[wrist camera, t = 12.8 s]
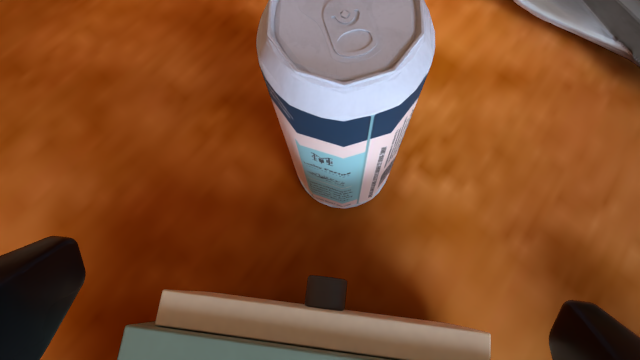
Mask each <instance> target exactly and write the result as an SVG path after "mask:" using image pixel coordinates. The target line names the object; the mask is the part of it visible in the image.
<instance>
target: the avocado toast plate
mask: <svg viewBox="0 0 640 360" xmlns="http://www.w3.org/2000/svg"><path fill="white" fill-rule="evenodd" d="M513 1H514V2H515V3H516V4H518V5H519V6H521V7H522V8H524V9H525V10H527V11H529V12H530V13H531V14H533V15H535V16H537V17H538V18H540V19H542V20H544V21H546V22H549V23H551V24H553V25H555V26H557V27H559V28H562V29H564V30H567V31H569V32H571V33H574V34H576V35H578V36H580V37H583V38H585V39H587V40H589V41H591V42H593V43H596V44H598V45H600V46H602V47H604V48H606V49H608V50H610V51H612V52H614V53H616V54H618V55H620V56H622V57H625V58H626V59H628V60H630V61H632V62H633V63H634V64H636V65H637V66H639V67H640V0H513Z"/></svg>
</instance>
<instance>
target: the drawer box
mask: <svg viewBox="0 0 640 360" xmlns="http://www.w3.org/2000/svg"><path fill="white" fill-rule="evenodd" d="M155 322H156V321H155ZM155 322H146V323H138V324H130V325H126V326H125V329H124V333H123V337H122V341H121V345H120V349H119V354H118V358H117V360H399V359H392V358H384V357H377V356H370V355H363V354H356V353H349V352H342V351H335V350H327V349H320V348H313V347H306V346H299V345H292V344H285V343H278V342H270V341H263V340H256V339H249V338H242V337H235V336H228V335H221V334H213V333H206V332H199V331H192V330H185V329H178V328H171V327H163V326H157V325H155Z"/></svg>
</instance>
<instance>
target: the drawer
mask: <svg viewBox="0 0 640 360" xmlns="http://www.w3.org/2000/svg"><path fill="white" fill-rule="evenodd" d="M346 289H347V281H346V280H344V279H338V278H332V277H324V276H313V275H310V276H308V281H307V289H306V297H305V304H298V303H290V302H283V301H275V300H268V299H260V298H252V297H245V296H237V295H230V294H222V293H215V292H203V291H184V290H163V291H162V295H161V299H160V304H159V308H158V313H157V317H156V322H155V325H157V326H163V327H171V328H178V329H185V330H192V331H199V332H206V333H213V334H221V335H228V336H235V337H242V338H249V339H256V340H263V341H270V342H278V343H285V344H292V345H299V346H306V347H313V348H320V349H327V350H335V351H342V352H349V353H356V354H363V355H370V356H377V357H384V358H392V359H399V360H490V343H491V335H490V333H488V332H484V331H480V330H476V329H471V328H467V327H463V326H458V325H454V324H450V323H442V322H435V321H427V320H419V319H412V318H404V317H397V316H389V315H382V314H374V313H366V312H359V311H351V310H344V308H345V299H346Z"/></svg>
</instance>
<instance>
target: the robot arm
mask: <svg viewBox="0 0 640 360" xmlns="http://www.w3.org/2000/svg"><path fill="white" fill-rule="evenodd" d="M84 280H85V267H84V264H83V260H82V257H81V253H80V250H79V247H78V244H77V242H76V241H75V240H74V239H72V238H69V237H61V236H50V237H47V238H44V239H42V240H39V241H37V242H34V243H32V244H29V245H27V246H24V247H22V248H19V249H17V250H14V251H12V252H9V253H7V254H4V255H2V256H0V360H40V358H41V357H42V355H43V353H44V352H45V350H46V348H47V347H48V345H49V343H50V342H51V340H52V338H53V336H54V335H55V333H56V331H57V329H58V327H59V326H60V324H61V322H62V320H63V319H64V317H65V315H66V313H67V311H68V310H69V308H70V306H71V304H72V303H73V301H74V299H75V297H76V296H77V294H78V292H79V290H80V288H81V287H82V285H83V283H84ZM549 346H550V350H551V355H552V359H553V360H640V338H639V337H638V336H637V335H635V334H634V333H633V332H632V331H630V330H629V329H628V328H626V327H625V326H624V325H622V324H621V323H620V322H618V321H617V320H616V319H614V318H613V317H612V316H610V315H609V314H608V313H606V312H605V311H604V310H603V309H601V308H600V307H599V306H597V305H596V304H594V303H591V302H585V301H577V300H568V301H566V302H565V303H564V304H563V305H562V307H561V309H560V312H559V314H558V316H557V318H556V320H555V322H554V324H553V326H552V329H551V331H550V335H549Z"/></svg>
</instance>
